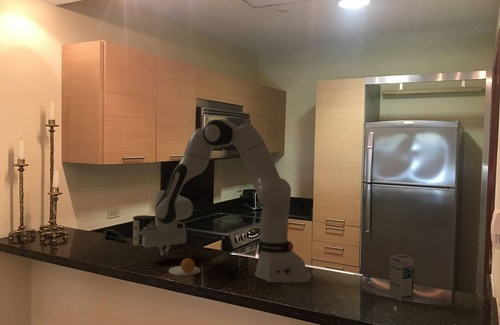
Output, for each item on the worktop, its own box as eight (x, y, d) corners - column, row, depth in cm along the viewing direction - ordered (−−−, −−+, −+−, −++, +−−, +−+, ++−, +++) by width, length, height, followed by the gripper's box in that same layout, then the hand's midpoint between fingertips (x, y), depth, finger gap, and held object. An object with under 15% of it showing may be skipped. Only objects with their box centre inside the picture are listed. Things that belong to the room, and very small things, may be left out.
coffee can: (156, 242, 215) (156, 215, 215) (147, 246, 205) (148, 218, 205) (138, 240, 217) (138, 214, 217) (128, 245, 207) (129, 217, 207)
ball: (196, 257, 167) (196, 270, 167) (184, 256, 168) (183, 269, 168) (191, 260, 162) (191, 274, 162) (178, 259, 163) (178, 273, 163)
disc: (203, 267, 172) (203, 266, 172) (196, 276, 159) (196, 275, 159) (174, 265, 174) (174, 264, 174) (164, 274, 161) (164, 273, 161)
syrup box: (400, 301, 138) (402, 259, 138) (388, 295, 144) (390, 255, 143) (413, 299, 141) (415, 257, 140) (400, 293, 146) (402, 253, 146)
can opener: (100, 238, 221) (100, 228, 221) (112, 236, 226) (112, 226, 226) (117, 244, 209) (118, 233, 209) (129, 242, 215) (130, 231, 214)
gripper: (145, 227, 175) (144, 259, 175) (188, 223, 187) (187, 253, 187) (140, 225, 180) (139, 256, 180) (182, 221, 192) (181, 250, 192)
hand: (164, 255), depth 184 cm, fingers closed
